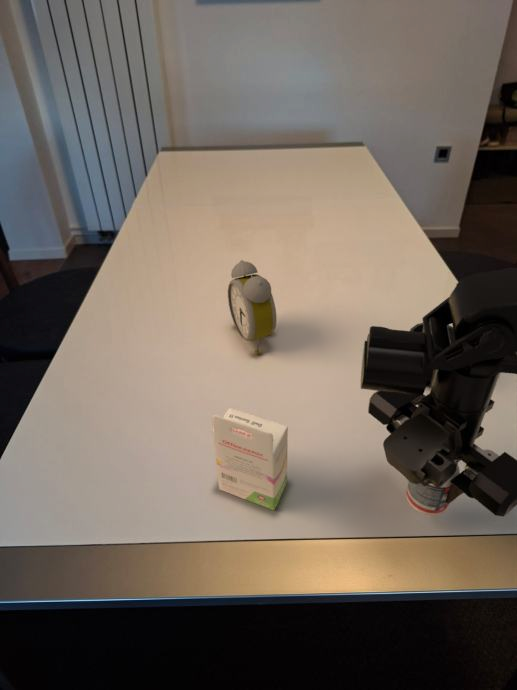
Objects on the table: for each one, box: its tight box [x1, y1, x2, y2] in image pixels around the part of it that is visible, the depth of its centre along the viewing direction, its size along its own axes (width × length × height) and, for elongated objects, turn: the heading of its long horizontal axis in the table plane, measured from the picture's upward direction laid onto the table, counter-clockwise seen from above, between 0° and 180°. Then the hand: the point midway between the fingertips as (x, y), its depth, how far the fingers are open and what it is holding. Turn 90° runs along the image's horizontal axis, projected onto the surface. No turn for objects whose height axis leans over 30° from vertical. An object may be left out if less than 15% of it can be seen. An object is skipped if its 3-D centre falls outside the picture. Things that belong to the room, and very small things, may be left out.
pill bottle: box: [405, 461, 461, 516], centre depth 60 cm, size 5×5×9 cm
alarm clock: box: [227, 259, 277, 355], centre depth 91 cm, size 12×7×15 cm, turn 23°
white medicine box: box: [212, 407, 289, 511], centre depth 64 cm, size 9×5×15 cm, turn 65°
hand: (430, 485), depth 61 cm, fingers closed on pill bottle, 5 cm apart
